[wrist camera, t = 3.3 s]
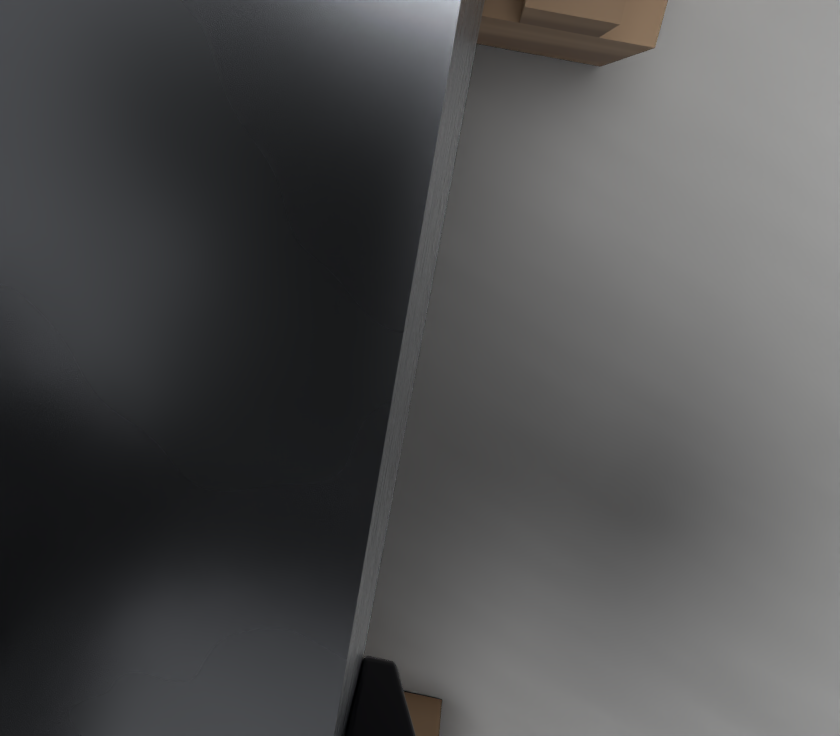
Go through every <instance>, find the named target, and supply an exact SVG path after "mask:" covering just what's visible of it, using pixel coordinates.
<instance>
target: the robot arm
mask: <svg viewBox="0 0 840 736" xmlns="http://www.w3.org/2000/svg"><path fill="white" fill-rule="evenodd" d="M345 736H416V735H415V731H414V727H413V724H412V720H411V716H410V713H409V709H408V706H407V702H406V698H405V695H404V691H403V688H402V684H401V680H400V677H399V673H398V669H397V667H396V665H395V663H394V662H393V661H389V660H385V659H380V658H375V657H370V656H367V657H365V658H364V659H363V661H362V665H361V669H360V673H359V677H358V681H357V685H356V689H355V693H354V698H353V702H352V706H351V710H350V714H349V718H348V722H347V726H346V731H345Z"/></svg>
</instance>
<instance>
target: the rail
mask: <svg viewBox="0 0 840 736" xmlns="http://www.w3.org/2000/svg"><path fill="white" fill-rule="evenodd" d="M484 1H485V0H0V736H345V731H346V726H347V722H348V718H349V714H350V710H351V706H352V702H353V698H354V693H355V689H356V685H357V681H358V677H359V673H360V669H361V665H362V661H363V657H364V651H365V646H366V640H367V635H368V630H369V624H370V619H371V613H372V608H373V603H374V597H375V592H376V586H377V581H378V575H379V570H380V565H381V559H382V554H383V548H384V543H385V537H386V532H387V527H388V521H389V516H390V510H391V505H392V500H393V494H394V489H395V483H396V478H397V472H398V467H399V462H400V456H401V451H402V445H403V440H404V435H405V429H406V424H407V418H408V413H409V407H410V402H411V397H412V391H413V386H414V380H415V375H416V370H417V364H418V359H419V353H420V348H421V342H422V337H423V332H424V326H425V321H426V315H427V310H428V305H429V299H430V294H431V288H432V283H433V277H434V272H435V267H436V261H437V256H438V250H439V245H440V240H441V234H442V229H443V223H444V218H445V212H446V207H447V202H448V196H449V191H450V185H451V180H452V175H453V169H454V164H455V158H456V153H457V147H458V142H459V137H460V131H461V126H462V120H463V115H464V109H465V104H466V99H467V93H468V88H469V82H470V77H471V72H472V66H473V61H474V55H475V50H476V44H477V39H478V34H479V28H480V23H481V17H482V12H483V7H484Z"/></svg>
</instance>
